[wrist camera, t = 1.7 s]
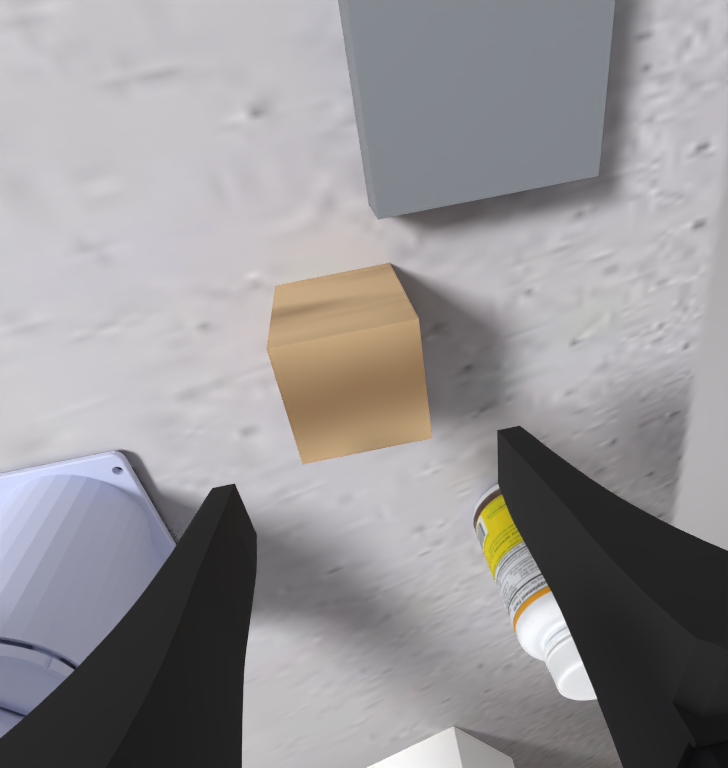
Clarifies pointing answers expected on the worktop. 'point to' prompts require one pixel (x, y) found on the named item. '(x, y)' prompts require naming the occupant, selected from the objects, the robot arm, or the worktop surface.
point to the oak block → (349, 363)
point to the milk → (448, 753)
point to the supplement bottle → (529, 597)
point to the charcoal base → (475, 96)
